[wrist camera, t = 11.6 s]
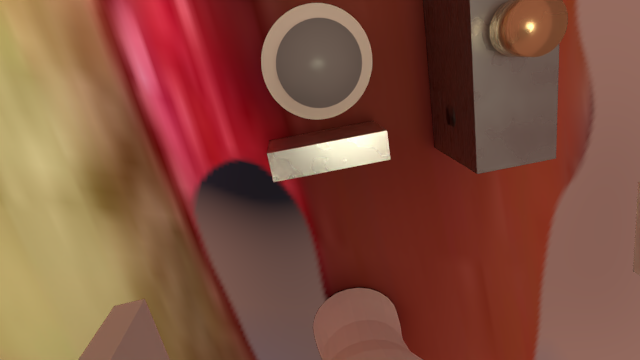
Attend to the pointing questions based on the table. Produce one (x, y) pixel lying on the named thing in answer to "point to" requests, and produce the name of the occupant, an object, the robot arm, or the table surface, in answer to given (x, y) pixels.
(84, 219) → the table surface
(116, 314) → the robot arm
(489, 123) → the motor bracket
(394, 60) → the table surface
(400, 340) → the cup
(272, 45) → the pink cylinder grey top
